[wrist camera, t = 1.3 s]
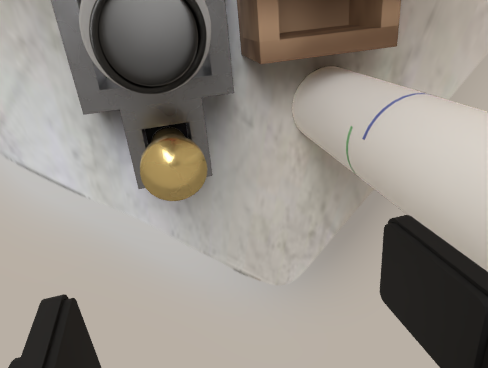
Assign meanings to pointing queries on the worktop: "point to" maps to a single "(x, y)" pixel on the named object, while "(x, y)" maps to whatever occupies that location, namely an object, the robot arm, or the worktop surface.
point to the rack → (315, 27)
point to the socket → (149, 105)
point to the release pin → (172, 165)
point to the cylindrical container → (405, 149)
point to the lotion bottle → (146, 41)
